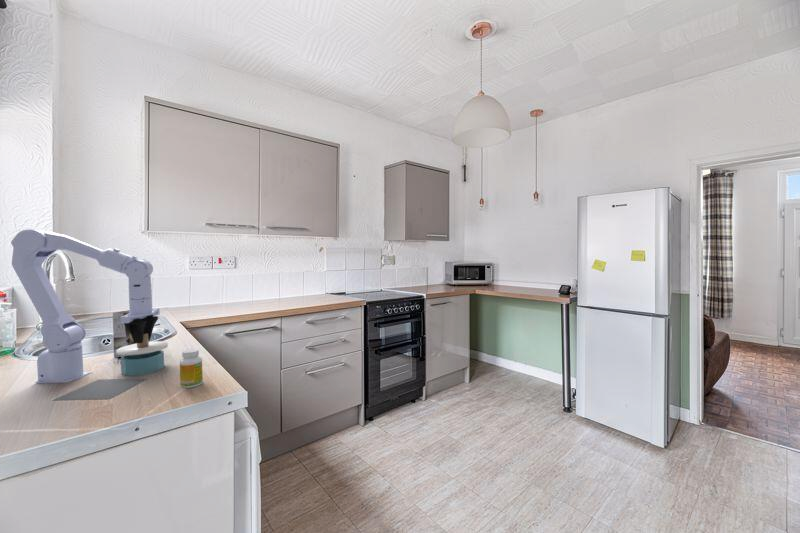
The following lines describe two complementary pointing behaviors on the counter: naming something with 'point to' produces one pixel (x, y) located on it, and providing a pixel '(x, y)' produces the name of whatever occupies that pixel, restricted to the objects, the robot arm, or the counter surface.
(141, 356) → the bowl
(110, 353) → the counter surface
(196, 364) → the supplement bottle
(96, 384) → the mat
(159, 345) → the lid
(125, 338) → the coffee box
